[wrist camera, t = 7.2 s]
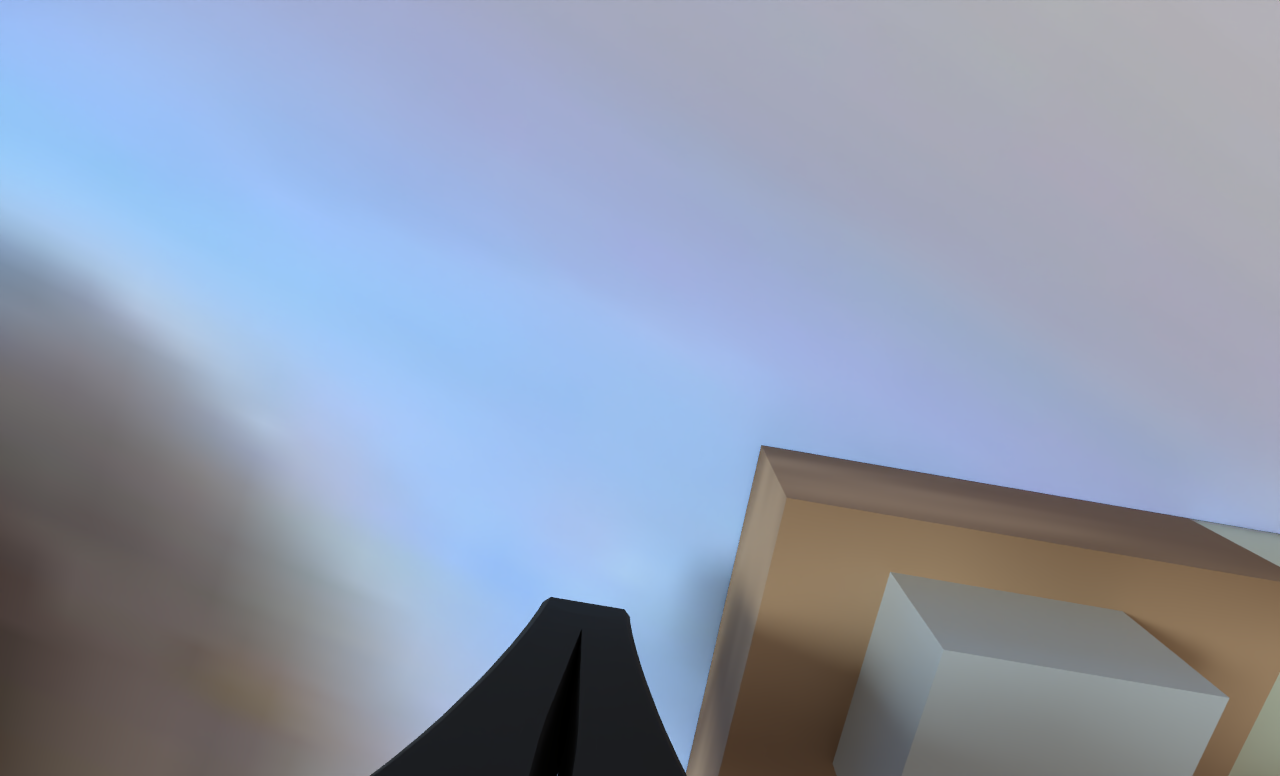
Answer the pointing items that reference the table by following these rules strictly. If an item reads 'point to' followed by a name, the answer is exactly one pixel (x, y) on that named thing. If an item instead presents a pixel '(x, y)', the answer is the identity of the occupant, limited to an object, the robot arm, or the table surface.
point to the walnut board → (960, 553)
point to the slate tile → (1019, 690)
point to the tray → (1276, 746)
